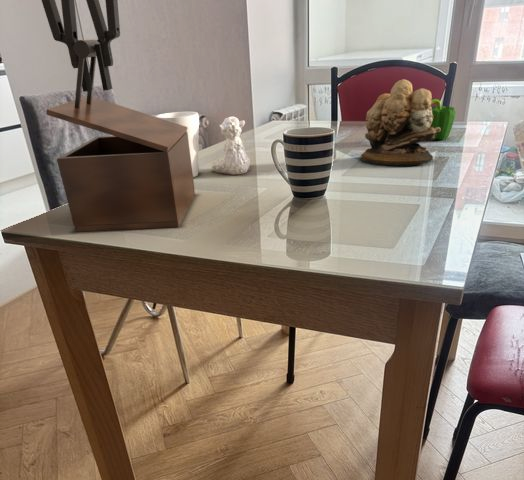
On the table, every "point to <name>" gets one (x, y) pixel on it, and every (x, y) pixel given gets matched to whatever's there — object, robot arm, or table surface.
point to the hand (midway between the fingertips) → (97, 89)
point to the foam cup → (192, 126)
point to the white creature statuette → (232, 149)
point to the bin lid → (114, 112)
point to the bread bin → (127, 184)
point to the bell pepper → (442, 119)
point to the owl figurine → (400, 127)
